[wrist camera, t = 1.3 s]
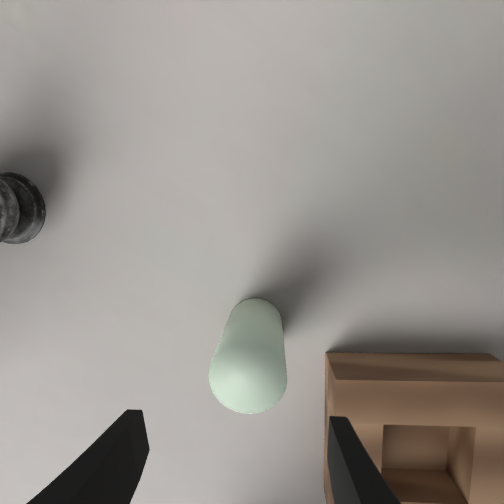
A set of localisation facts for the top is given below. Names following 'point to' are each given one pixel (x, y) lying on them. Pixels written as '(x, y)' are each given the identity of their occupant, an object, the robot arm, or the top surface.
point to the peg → (250, 359)
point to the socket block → (424, 422)
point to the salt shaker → (19, 209)
